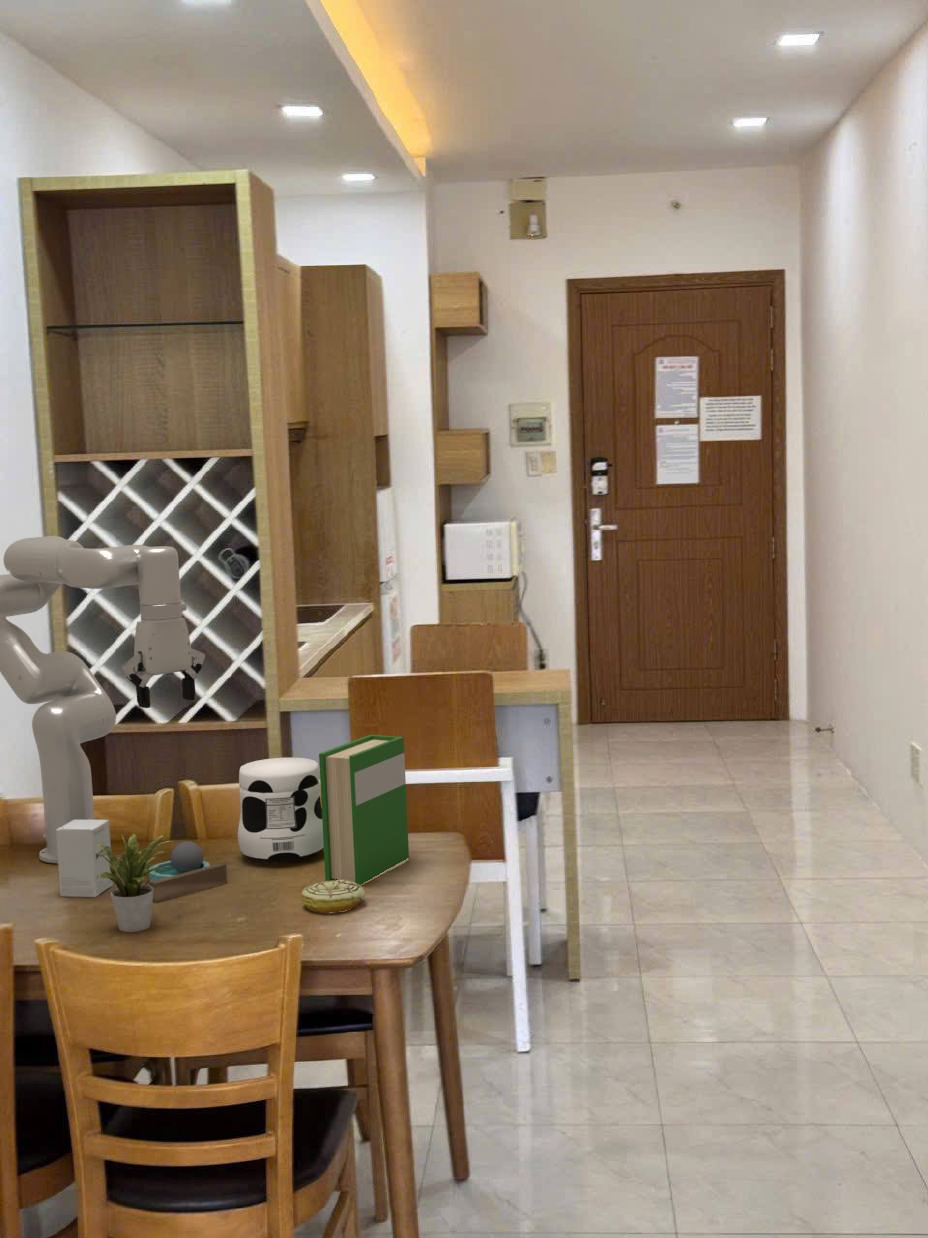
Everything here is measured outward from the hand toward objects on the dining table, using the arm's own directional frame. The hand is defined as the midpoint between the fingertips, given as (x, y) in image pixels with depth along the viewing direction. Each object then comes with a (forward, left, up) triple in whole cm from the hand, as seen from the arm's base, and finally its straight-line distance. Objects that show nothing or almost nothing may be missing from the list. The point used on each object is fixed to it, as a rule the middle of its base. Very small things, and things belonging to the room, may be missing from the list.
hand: (167, 703), depth 272 cm
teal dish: (+6, -3, -32) cm, 33 cm away
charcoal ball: (+6, -1, -28) cm, 29 cm away
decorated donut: (+40, +6, -33) cm, 52 cm away
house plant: (+24, -23, -32) cm, 46 cm away
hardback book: (+29, +23, -32) cm, 49 cm away
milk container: (+8, +19, -33) cm, 39 cm away
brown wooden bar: (+14, -6, -32) cm, 36 cm away
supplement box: (-2, -18, -32) cm, 37 cm away
